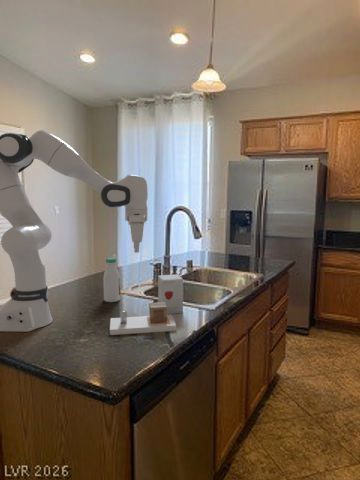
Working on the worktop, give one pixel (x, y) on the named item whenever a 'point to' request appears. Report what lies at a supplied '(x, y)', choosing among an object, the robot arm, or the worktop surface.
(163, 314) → the walnut cap
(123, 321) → the metal post
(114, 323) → the white rectangular board
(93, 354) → the worktop surface
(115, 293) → the milk bottle
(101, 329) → the worktop surface
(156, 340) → the worktop surface
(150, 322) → the terracotta tile
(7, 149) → the robot arm
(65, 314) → the worktop surface
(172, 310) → the supplement box
